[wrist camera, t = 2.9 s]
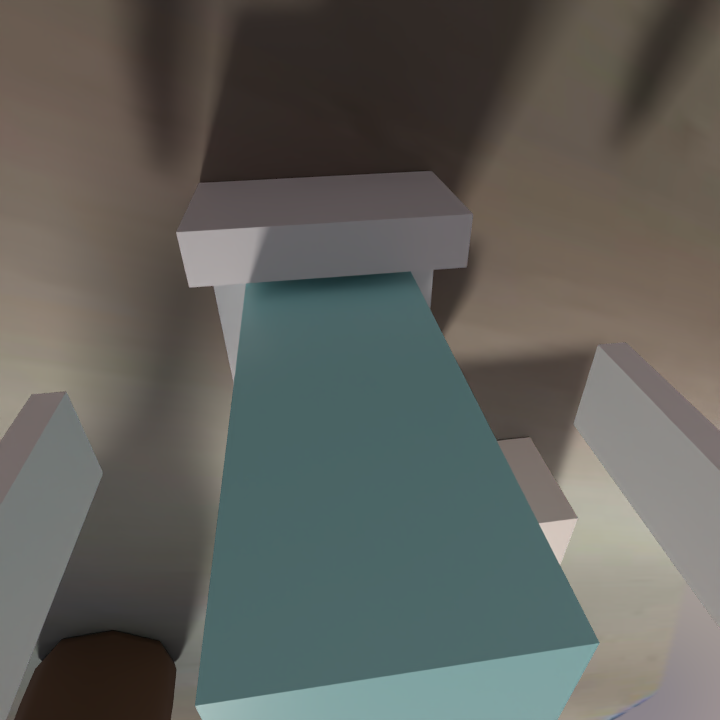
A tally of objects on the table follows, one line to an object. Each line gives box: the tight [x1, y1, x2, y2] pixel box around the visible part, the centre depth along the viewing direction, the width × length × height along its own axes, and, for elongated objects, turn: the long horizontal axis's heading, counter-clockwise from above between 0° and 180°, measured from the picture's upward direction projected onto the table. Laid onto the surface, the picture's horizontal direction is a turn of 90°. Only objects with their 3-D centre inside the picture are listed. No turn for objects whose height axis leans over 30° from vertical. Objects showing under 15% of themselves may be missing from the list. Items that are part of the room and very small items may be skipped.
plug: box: [195, 271, 599, 720], centre depth 12 cm, size 4×4×12 cm
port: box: [497, 437, 578, 564], centre depth 24 cm, size 14×12×5 cm
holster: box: [176, 171, 473, 383], centre depth 16 cm, size 8×7×4 cm
